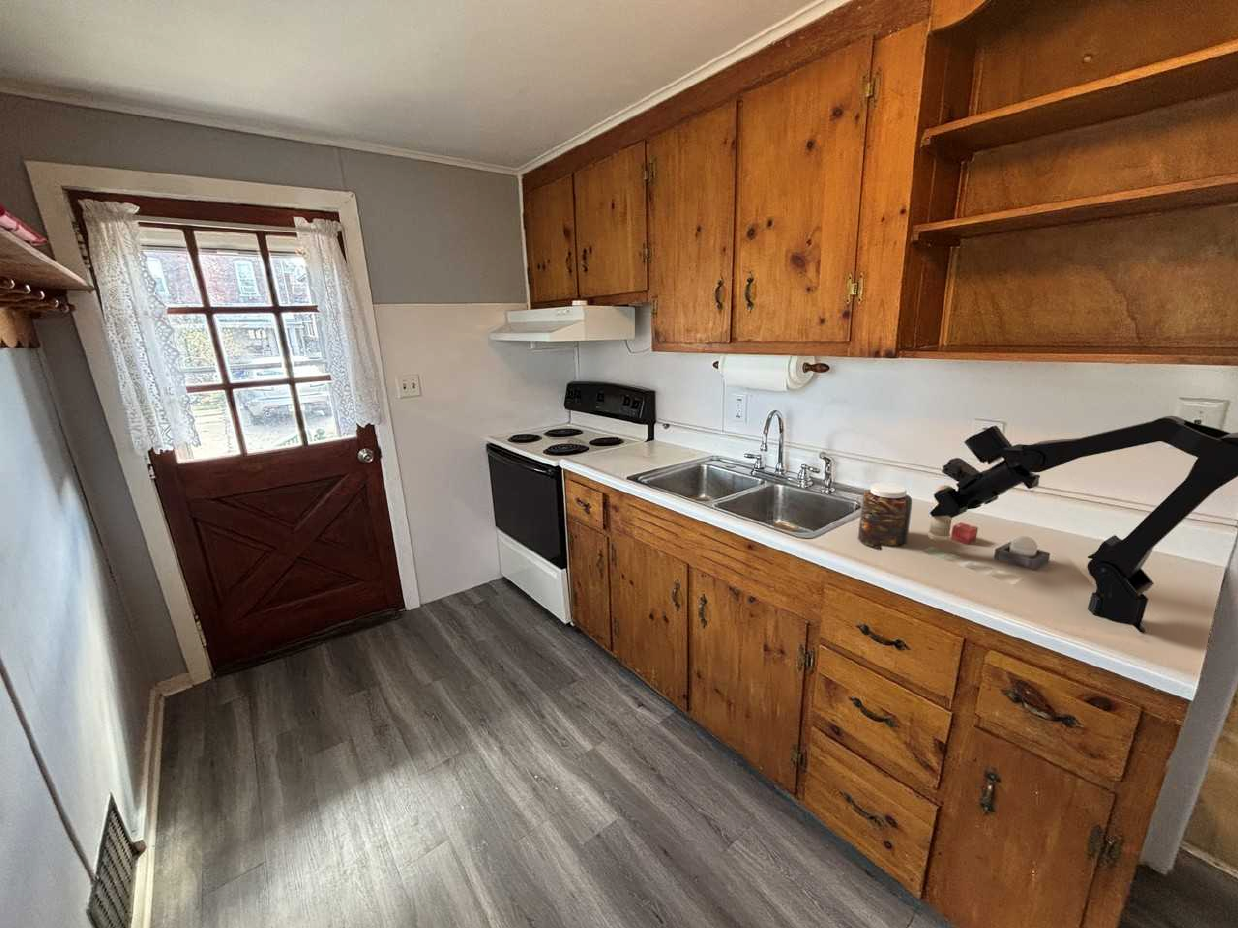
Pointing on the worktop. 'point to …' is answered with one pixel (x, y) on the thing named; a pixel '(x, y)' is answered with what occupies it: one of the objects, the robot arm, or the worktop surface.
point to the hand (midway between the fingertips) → (936, 512)
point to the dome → (1023, 546)
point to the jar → (885, 516)
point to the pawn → (940, 524)
